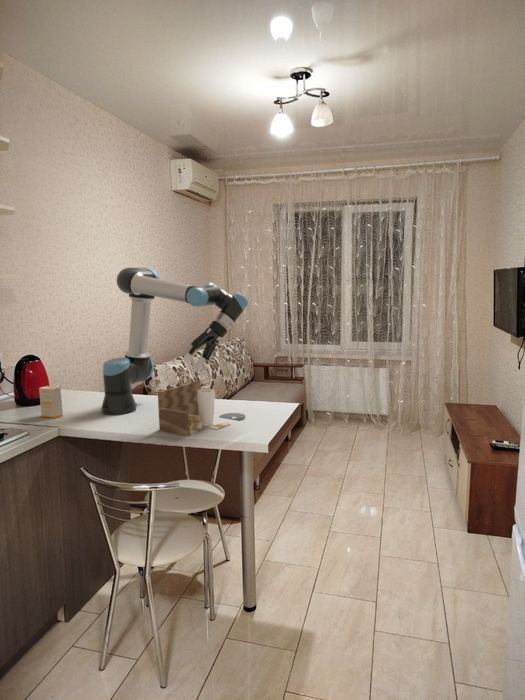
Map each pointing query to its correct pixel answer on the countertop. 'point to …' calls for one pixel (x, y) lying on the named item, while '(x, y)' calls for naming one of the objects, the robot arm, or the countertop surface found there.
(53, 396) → the supplement box
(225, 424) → the offcut flat
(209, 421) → the drinking glass
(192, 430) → the offcut lower
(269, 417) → the countertop surface
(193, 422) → the offcut upper
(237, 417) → the coaster
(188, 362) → the robot arm
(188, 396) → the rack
